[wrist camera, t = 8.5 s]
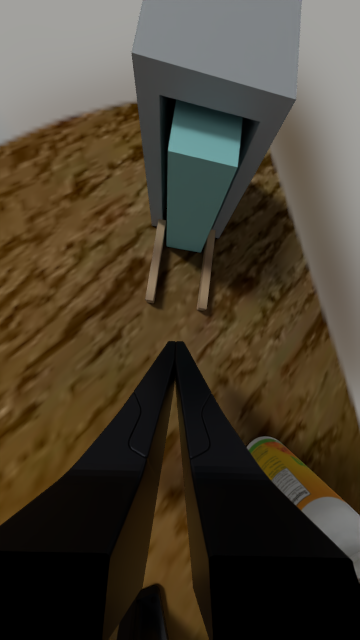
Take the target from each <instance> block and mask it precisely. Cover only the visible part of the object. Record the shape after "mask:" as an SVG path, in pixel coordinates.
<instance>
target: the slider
mask: <svg viewBox="0 0 360 640" xmlns="http://www.w3.org/2000/svg"><path fill="white" fill-rule="evenodd" d="M242 120H243V117H241V116H237V115H233V114H229V113H226V112H222V111H218V110H214V109H211V108H207V107H203V106H199V105H196V104H192V103H188V102H184V101H181V100H177V99H176V105H175V111H174V117H173V123H172V129H171V135H170V141H169V147H168V175H167V242H166V246H167V247H172V248H178V249H183V250H189V251H194V252H200V253H201V251H202V249H203V246H204V244H205V242H206V239H207V237H208V235H209V232H210V230H211V228H212V225H213V223H214V221H215V218H216V216H217V214H218V212H219V209H220V207H221V205H222V202H223V200H224V198H225V195H226V193H227V191H228V188H229V186H230V184H231V181H232V179H233V177H234V174H235V172H236V170H237V168H238V159H239V149H240V139H241V130H242Z"/></svg>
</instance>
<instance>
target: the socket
mask: <svg viewBox="0 0 360 640" xmlns="http://www.w3.org/2000/svg"><path fill="white" fill-rule="evenodd" d="M301 2H302V0H143V2H142V6H141V11H140V16H139V21H138V25H137V30H136V35H135V39H134V44H133V48H132V60H133V68H134V77H135V85H136V93H137V102H138V111H139V119H140V128H141V136H142V145H143V153H144V161H145V170H146V178H147V187H148V195H149V204H150V212H151V221H152V226H157V225H158V219H161V220H164V214H165V208H166V202H167V175H168V147H169V141H170V135H171V129H172V123H173V117H174V111H175V105H176V99H177V100H181V101H184V102H188V103H192V104H196V105H199V106H203V107H207V108H211V109H214V110H218V111H222V112H226V113H229V114H233V115H237V116H241V117H243V120H242V130H241V139H240V149H239V159H238V168H237V170H236V172H235V174H234V177H233V179H232V181H231V184H230V186H229V188H228V191H227V193H226V195H225V198H224V200H223V202H222V205H221V207H220V209H219V212H218V214H217V216H216V218H215V221H214V223H213V225H212V228H211V229H212V230H216V232H215V238H219V237H220V235H221V234H222V232H223V230H224V228H225V226H226V225H227V223H228V221H229V219H230V217H231V216H232V214H233V212H234V210H235V208H236V207H237V205H238V203H239V201H240V199H241V198H242V196H243V194H244V192H245V190H246V189H247V187H248V185H249V183H250V181H251V180H252V178H253V176H254V174H255V172H256V171H257V169H258V167H259V165H260V163H261V162H262V160H263V158H264V156H265V154H266V153H267V151H268V149H269V147H270V145H271V143H272V142H273V140H274V138H275V136H276V135H277V133H278V131H279V129H280V127H281V126H282V124H283V122H284V120H285V118H286V116H287V115H288V113H289V111H290V109H291V108H292V106H293V104H294V102H295V100H296V89H297V71H298V55H299V38H300V19H301Z"/></svg>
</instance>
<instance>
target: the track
mask: <svg viewBox="0 0 360 640" xmlns="http://www.w3.org/2000/svg"><path fill="white" fill-rule="evenodd" d="M165 230H166V220H161V219H158V225H157V231H156V238H155V244H154V250H153V256H152V262H151V268H150V274H149V280H148V286H147V292H146V299H145V300H146V302H149V303H154V301H155V294H156V288H157V281H158V275H159V269H160V262H161V256H162V249H163V243H164V237H165ZM215 232H216V230H212V229H211V230H210V232H209V235H208V237H207V239H206V242H205V247H204V255H203V263H202V271H201V280H200V288H199V296H198V304H197V310H202V311H204V310H206V309H207V301H208V292H209V284H210V275H211V267H212V258H213V249H214V241H215Z"/></svg>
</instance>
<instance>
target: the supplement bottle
mask: <svg viewBox="0 0 360 640" xmlns="http://www.w3.org/2000/svg"><path fill="white" fill-rule="evenodd" d="M247 449H248V450H249V452H250V453H251V455H252V456H253V457H254V459H255V460H256V462H257V463H258V465H259V466H260V467H261V469H262V470H263V471H264V472H265V474H266V475H267V476H268V477H269V479H270V480H271V481H272V482H273V483H274V484H275V485H276V486H277V487H278V488H279V489H280V490H281V491H282V492H283V493H284V494H285V495H286V496H287V497H288V498H289V499H290V500H291V501H292V502H293V503H294V504H295V505H296V506H297V507H298V508H299V509H300V510H301V511H302V512H303V513H304V514H305V515H306V516H307V517H308V518H309V519H310V520H311V521H312V522H313V523H314V524H315V525H316V526H318V527H319V528H320V529H321V530H322V531H323V532H324V533H325V534H326V535H327V536H328V537H329V538H330V539H331V540H332V541H333V542H334V543H335V544H336V545H337V546H338V547H339V548H340V549H341V550H342V551H343V552H344V553H345V554H346V555H347V556H348V557H349V558H350V559H351V560H352V561H353V565H354V569H355V572H356V575H357V578H360V516H359V515H358V514H357V513H356V512H355V511H354V510H353V509H352V508H351V507H350V506H349V505H348V504H347V503H346V502H345V501H344V500H343V499H342V498H341V497H340V496H339V495H337V494H336V493H335V492H334V491H333V490H332V489H331V488H330V487H329V486H328V485H327V484H325V483H324V482H323V481H322V480H321V479H320V478H319V477H318V476H317V475H316V474H315V473H314V472H313V471H312V470H310V469H309V468H308V467H307V466H306V465H305V464H304V463H303V462H302V461H301V460H300V459H299V458H297V457H296V456H295V455H294V454H293V453H292V452H291V451H290V450H289V449H288V448H287V447H285V446H284V445H283V444H282V443H281V442H280V441H278V440H277V439H275V438H272V437H268V436H263V437H258V438H256V439H254V440H253V441H251V442H250V443H249V444H248V446H247Z"/></svg>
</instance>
